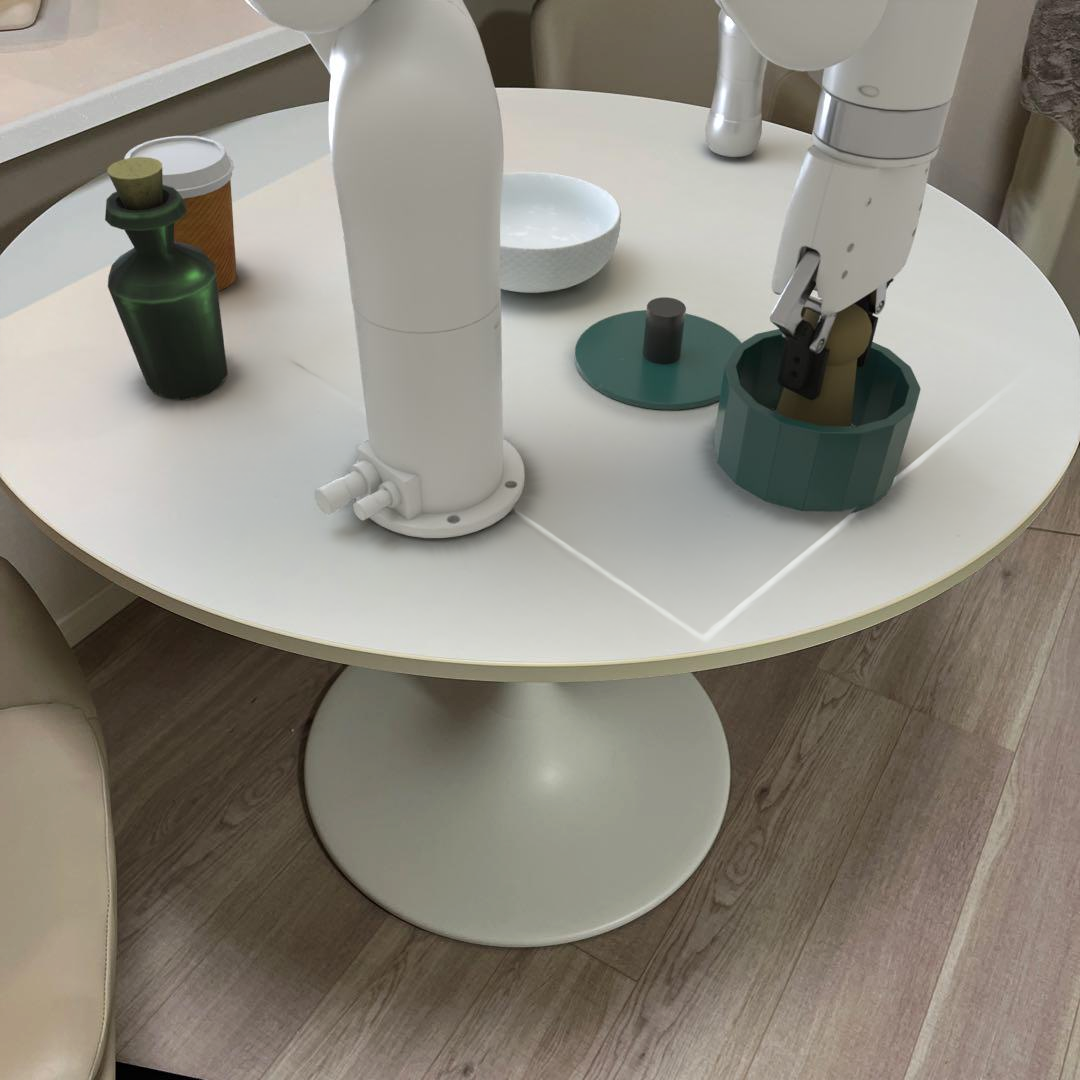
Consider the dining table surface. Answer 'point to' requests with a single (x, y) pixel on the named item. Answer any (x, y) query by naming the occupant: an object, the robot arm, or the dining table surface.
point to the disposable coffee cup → (199, 196)
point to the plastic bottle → (736, 94)
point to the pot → (812, 432)
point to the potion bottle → (164, 286)
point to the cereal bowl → (554, 231)
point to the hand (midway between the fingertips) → (822, 372)
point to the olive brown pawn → (833, 371)
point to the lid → (656, 357)
